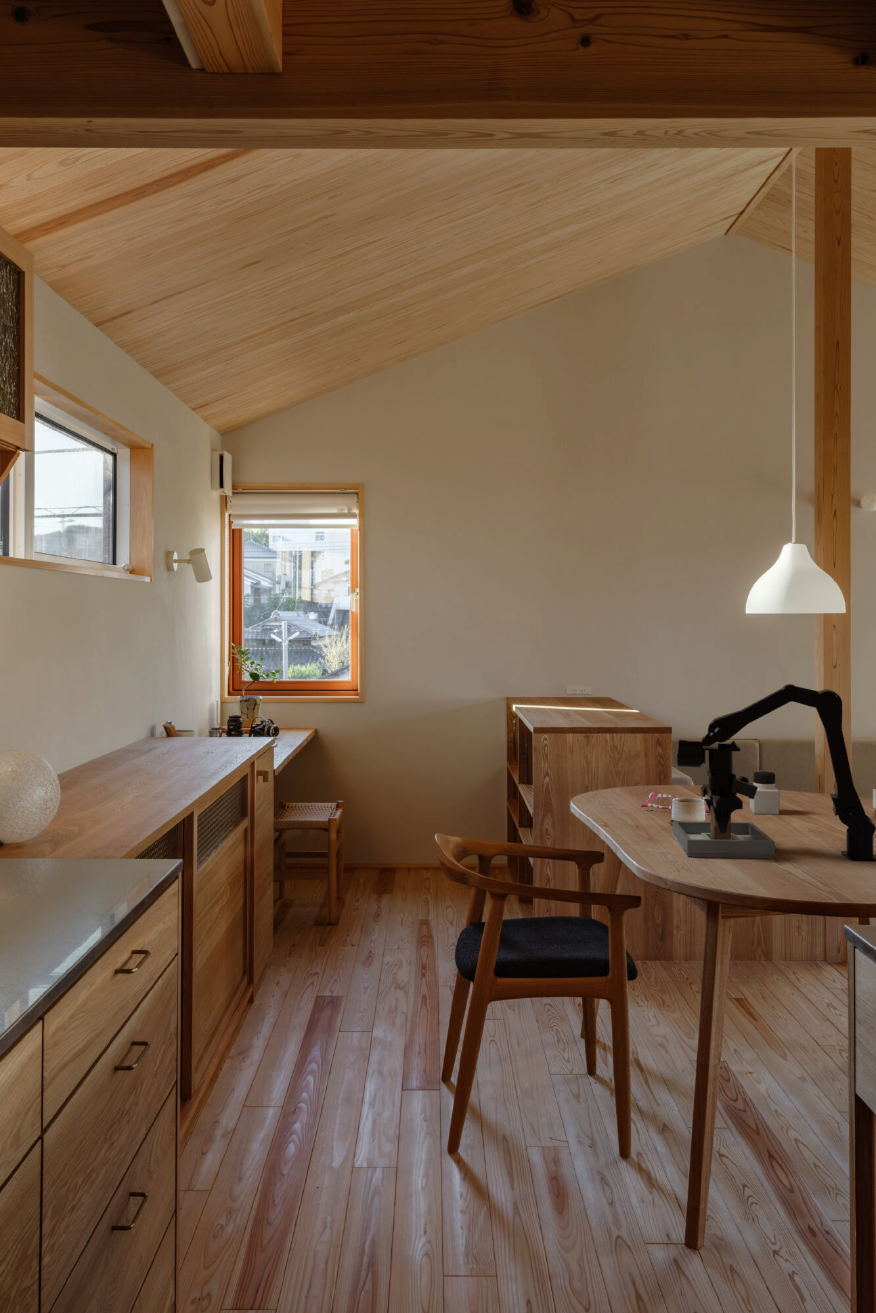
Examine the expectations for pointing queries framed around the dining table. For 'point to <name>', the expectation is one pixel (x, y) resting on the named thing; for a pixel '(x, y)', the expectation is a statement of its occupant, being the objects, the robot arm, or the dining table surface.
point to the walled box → (723, 841)
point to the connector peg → (716, 832)
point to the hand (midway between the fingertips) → (720, 830)
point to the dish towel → (655, 796)
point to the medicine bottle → (765, 794)
